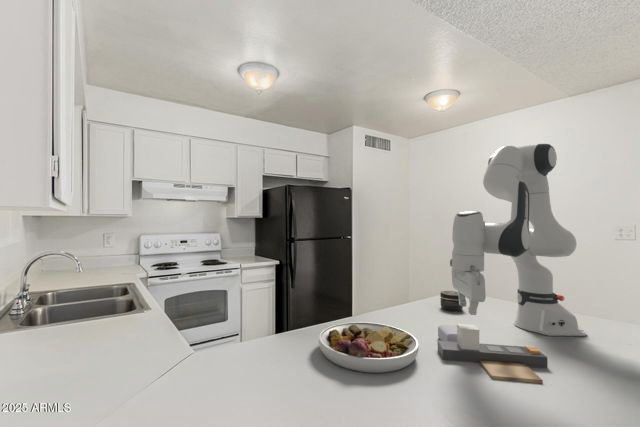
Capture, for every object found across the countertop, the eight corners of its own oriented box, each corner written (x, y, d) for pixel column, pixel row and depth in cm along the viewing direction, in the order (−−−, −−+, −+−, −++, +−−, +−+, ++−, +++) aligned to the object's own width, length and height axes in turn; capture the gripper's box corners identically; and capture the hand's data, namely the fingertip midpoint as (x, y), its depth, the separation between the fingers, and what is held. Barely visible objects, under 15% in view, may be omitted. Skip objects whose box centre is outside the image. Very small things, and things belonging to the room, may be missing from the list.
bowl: (334, 331, 114) (335, 310, 115) (420, 343, 104) (420, 319, 105) (303, 366, 86) (303, 338, 86) (416, 387, 76) (416, 355, 76)
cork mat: (525, 367, 87) (525, 364, 87) (542, 383, 78) (542, 380, 79) (479, 363, 89) (479, 360, 89) (491, 378, 80) (491, 375, 80)
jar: (443, 305, 153) (443, 289, 154) (465, 308, 148) (465, 292, 148) (437, 309, 145) (437, 293, 145) (460, 313, 139) (460, 296, 140)
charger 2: (474, 349, 95) (474, 324, 96) (479, 355, 91) (479, 329, 91) (457, 348, 96) (457, 323, 96) (461, 354, 92) (461, 328, 92)
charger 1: (457, 332, 115) (476, 349, 100) (432, 332, 115) (447, 348, 100) (457, 320, 115) (476, 334, 100) (432, 319, 115) (447, 333, 100)
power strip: (534, 357, 94) (534, 344, 94) (547, 368, 87) (547, 354, 87) (437, 349, 98) (437, 337, 98) (442, 359, 91) (442, 346, 91)
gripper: (492, 269, 84) (491, 321, 83) (468, 260, 104) (467, 302, 103) (467, 268, 85) (466, 319, 84) (448, 260, 105) (448, 301, 104)
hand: (467, 310), depth 94 cm, fingers open, 8 cm apart
